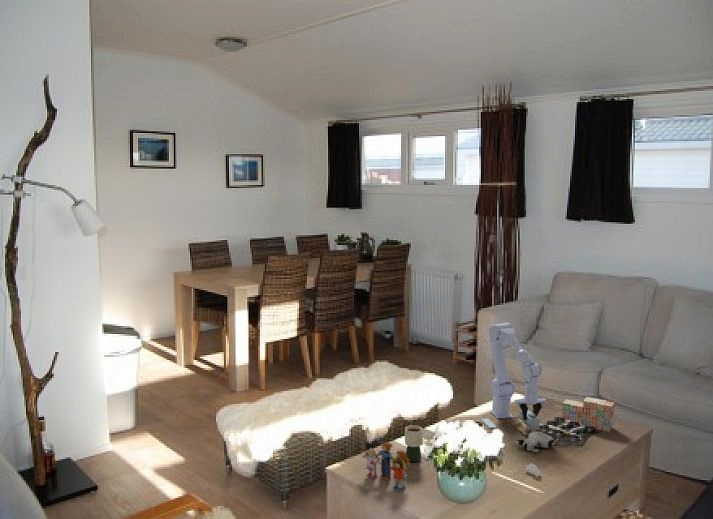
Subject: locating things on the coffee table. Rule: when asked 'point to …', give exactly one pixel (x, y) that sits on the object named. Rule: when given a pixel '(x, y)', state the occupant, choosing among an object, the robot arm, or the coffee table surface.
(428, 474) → the coffee table surface
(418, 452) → the character mug
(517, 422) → the wooden pallet
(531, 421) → the light blue block
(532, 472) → the car cutout
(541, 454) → the coffee table surface
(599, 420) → the stack of blocks
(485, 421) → the wing plate
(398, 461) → the doll family
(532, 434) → the robot toy
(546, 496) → the coffee table surface
